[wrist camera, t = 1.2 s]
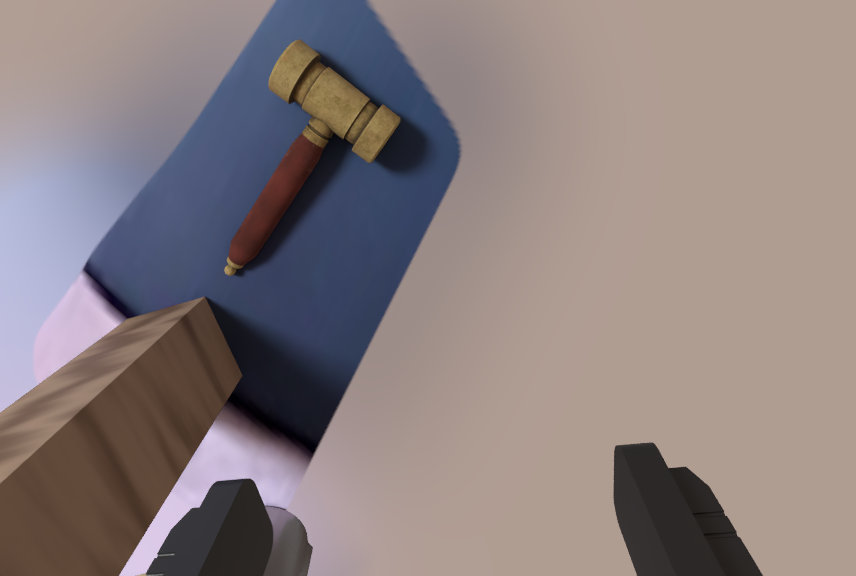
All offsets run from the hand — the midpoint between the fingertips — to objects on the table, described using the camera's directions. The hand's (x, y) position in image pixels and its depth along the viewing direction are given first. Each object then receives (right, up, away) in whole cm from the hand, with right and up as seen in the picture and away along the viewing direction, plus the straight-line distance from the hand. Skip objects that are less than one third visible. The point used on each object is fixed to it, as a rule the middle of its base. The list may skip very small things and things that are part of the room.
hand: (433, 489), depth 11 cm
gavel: (-13, +14, +33) cm, 39 cm away
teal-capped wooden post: (-24, -2, +38) cm, 45 cm away
